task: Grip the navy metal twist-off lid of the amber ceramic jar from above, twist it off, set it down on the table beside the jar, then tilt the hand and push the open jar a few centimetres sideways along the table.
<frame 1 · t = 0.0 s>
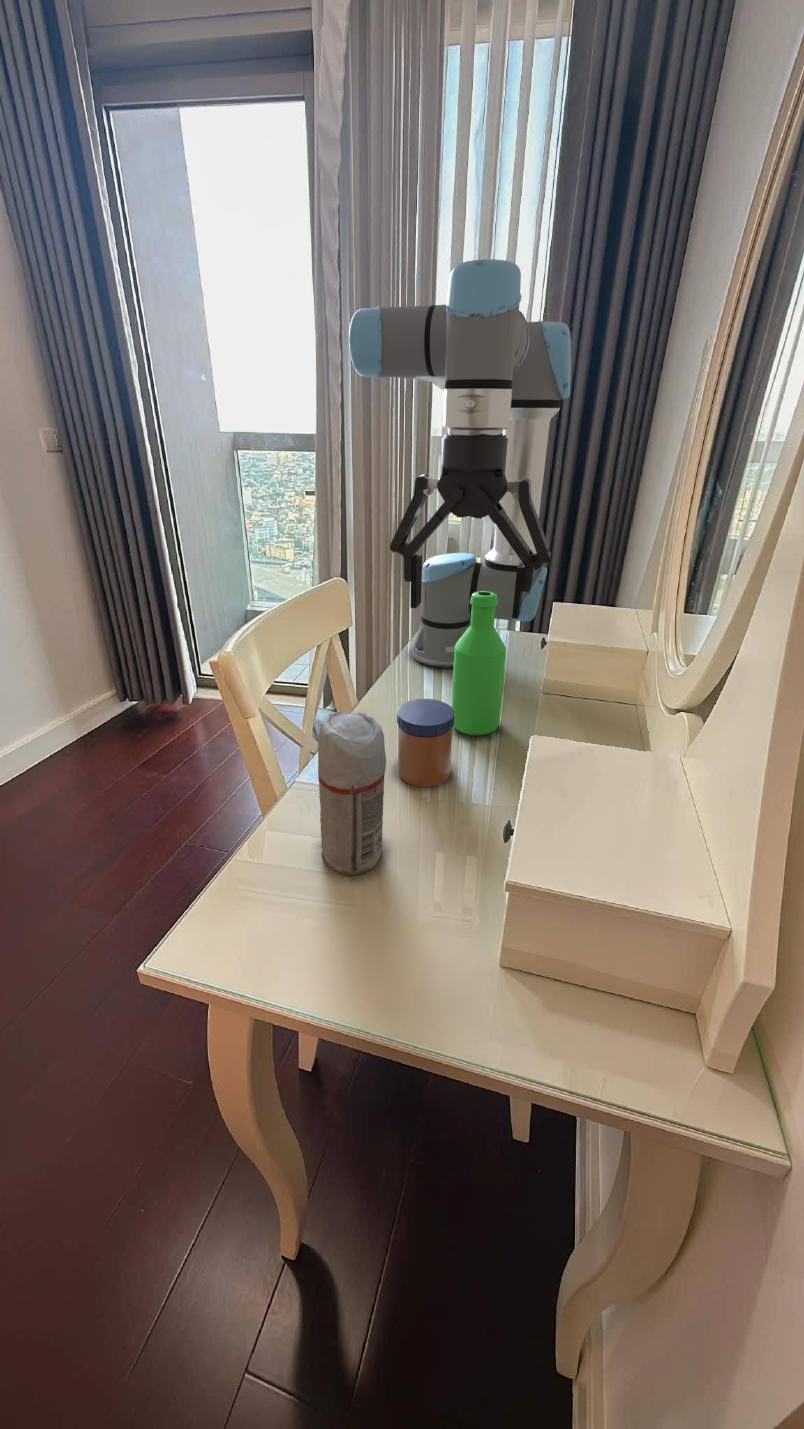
hand: (464, 610, 75), 28 cm above the table, tool pointing down, fingers open, 13 cm apart
spray can: (353, 854, 75), on the table
bottle: (474, 727, 104), on the table
jar: (424, 771, 91), on the table
lid: (425, 713, 86), point 11 cm above the table, screwed on, not yet turned
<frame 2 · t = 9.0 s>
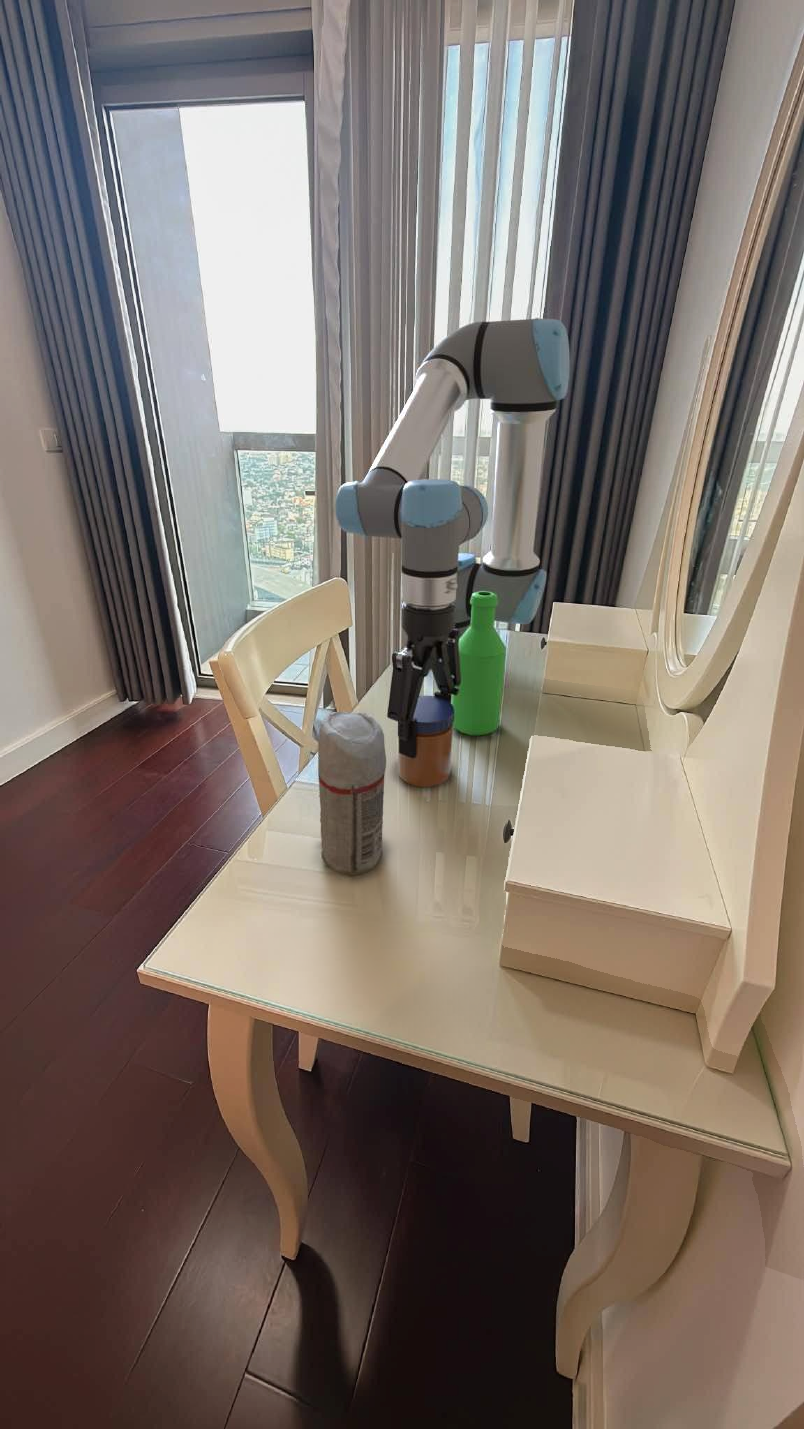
hand: (425, 741, 88), 6 cm above the table, tool pointing down, fingers closed on lid, 8 cm apart
jar: (424, 771, 91), on the table, touching gripper
lid: (425, 710, 86), point 11 cm above the table, off its thread, touching gripper
everything else where it was.
when the fingers open (0 cm above the table, at t = 16.5 s): lid drops 4 cm, point 1 cm above the table.
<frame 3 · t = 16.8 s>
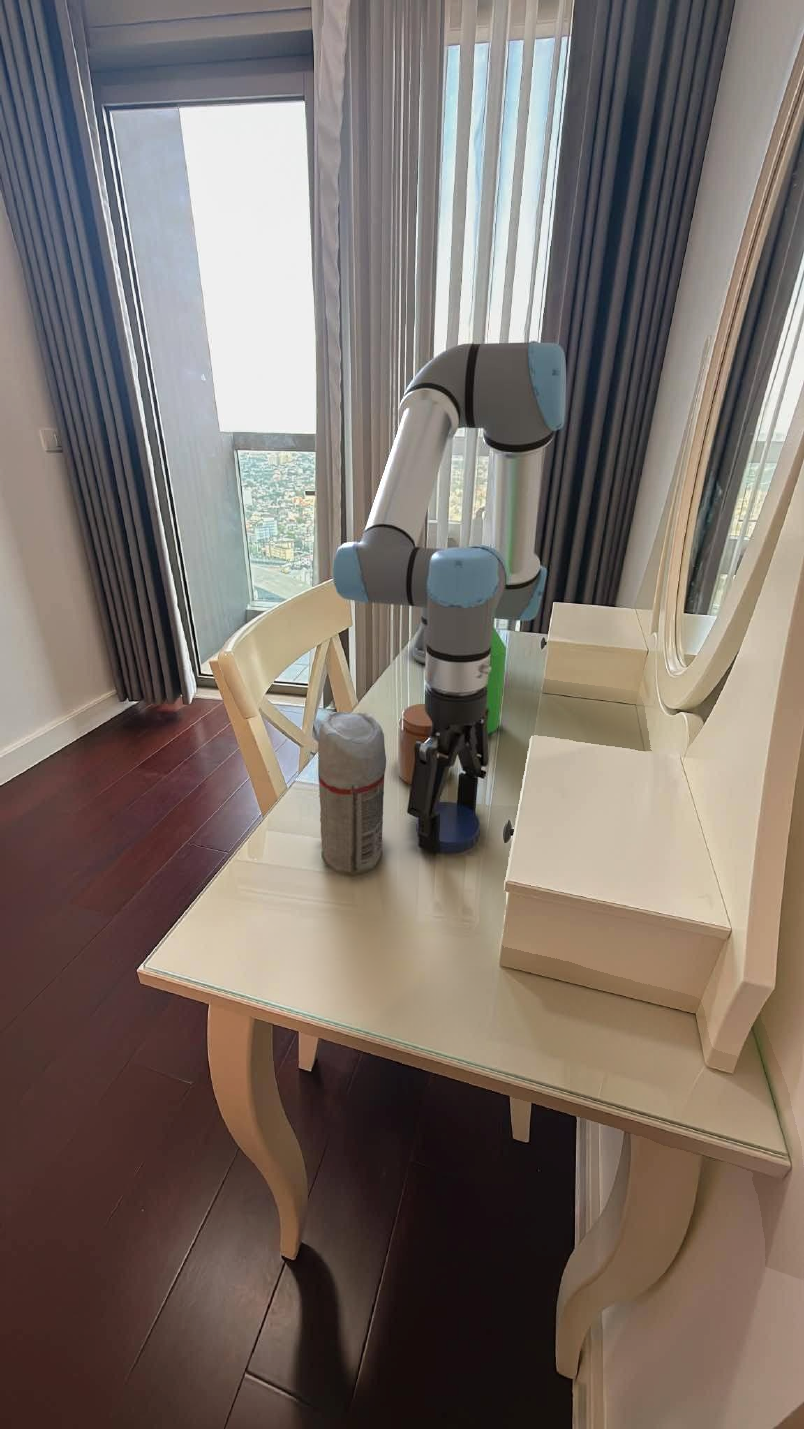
hand: (447, 830, 78), 0 cm above the table, tool pointing down, fingers open, 9 cm apart
jar: (424, 771, 91), on the table
lid: (448, 823, 78), point 1 cm above the table, off its thread
everything else where it was.
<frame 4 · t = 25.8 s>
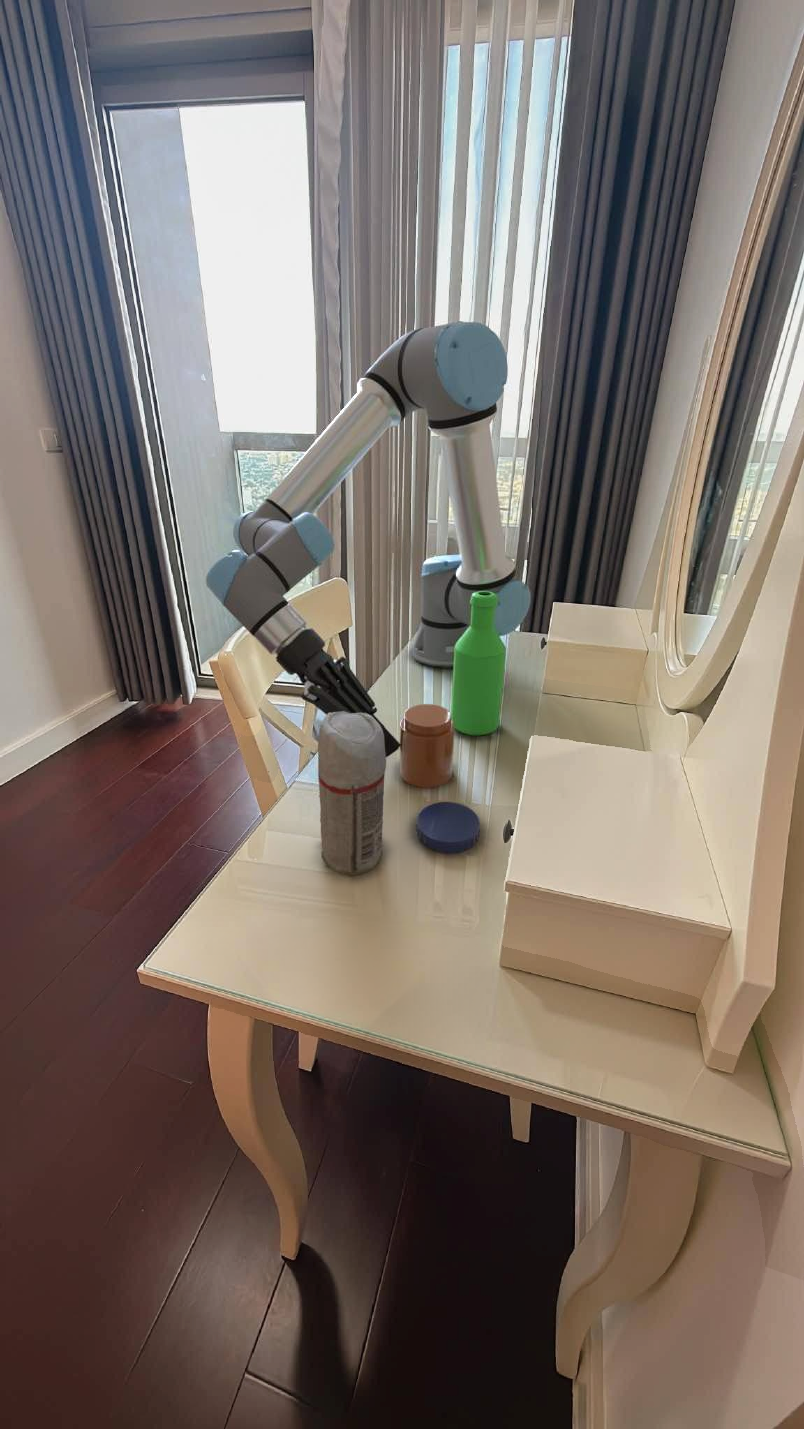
hand: (393, 751, 91), 3 cm above the table, tool tilted 45°, fingers closed
jar: (425, 772, 91), on the table, touching gripper
everything else where it was.
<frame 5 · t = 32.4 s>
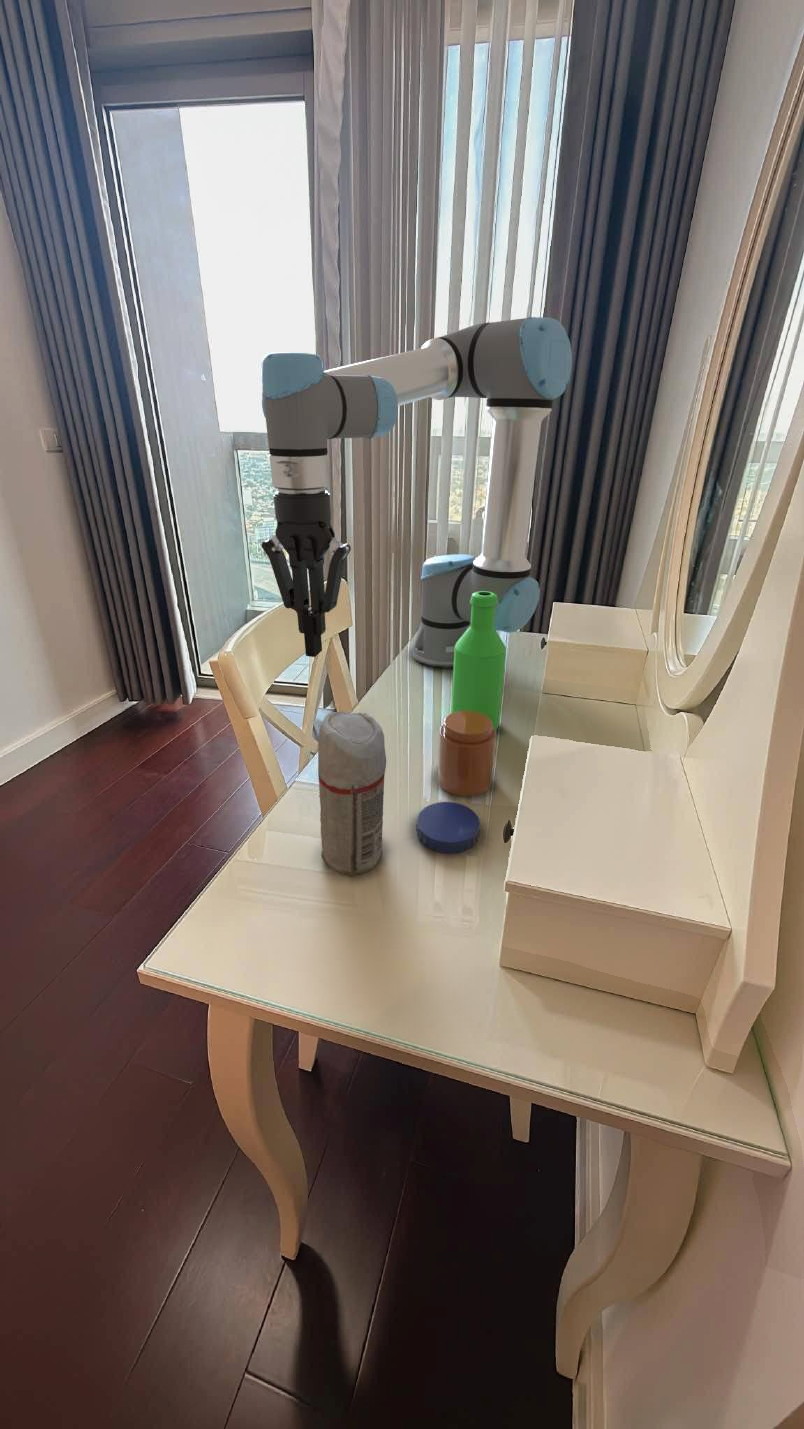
hand: (314, 653, 87), 18 cm above the table, tool pointing down, fingers closed
jar: (464, 780, 89), on the table
everything else where it was.
at the end: lid point 1.5 cm above the table; the gripper is holding nothing; jar inside the target area (0.4 cm from its centre), on the table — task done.
